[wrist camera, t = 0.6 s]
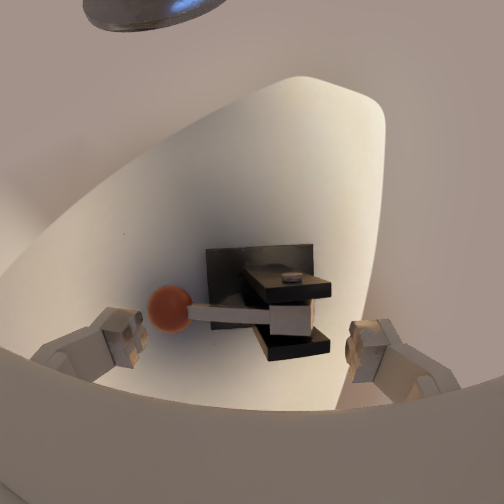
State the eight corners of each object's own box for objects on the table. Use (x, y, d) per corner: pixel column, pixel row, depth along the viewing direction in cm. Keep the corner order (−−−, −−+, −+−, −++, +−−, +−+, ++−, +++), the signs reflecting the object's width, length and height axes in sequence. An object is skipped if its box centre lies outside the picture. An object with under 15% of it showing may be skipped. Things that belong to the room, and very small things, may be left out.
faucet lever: (166, 323, 25) (140, 336, 21) (162, 281, 25) (134, 288, 21) (314, 333, 21) (309, 353, 17) (314, 283, 21) (309, 294, 17)
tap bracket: (211, 326, 32) (212, 392, 17) (206, 249, 31) (200, 258, 16) (310, 318, 33) (373, 367, 19) (309, 244, 33) (379, 248, 18)
